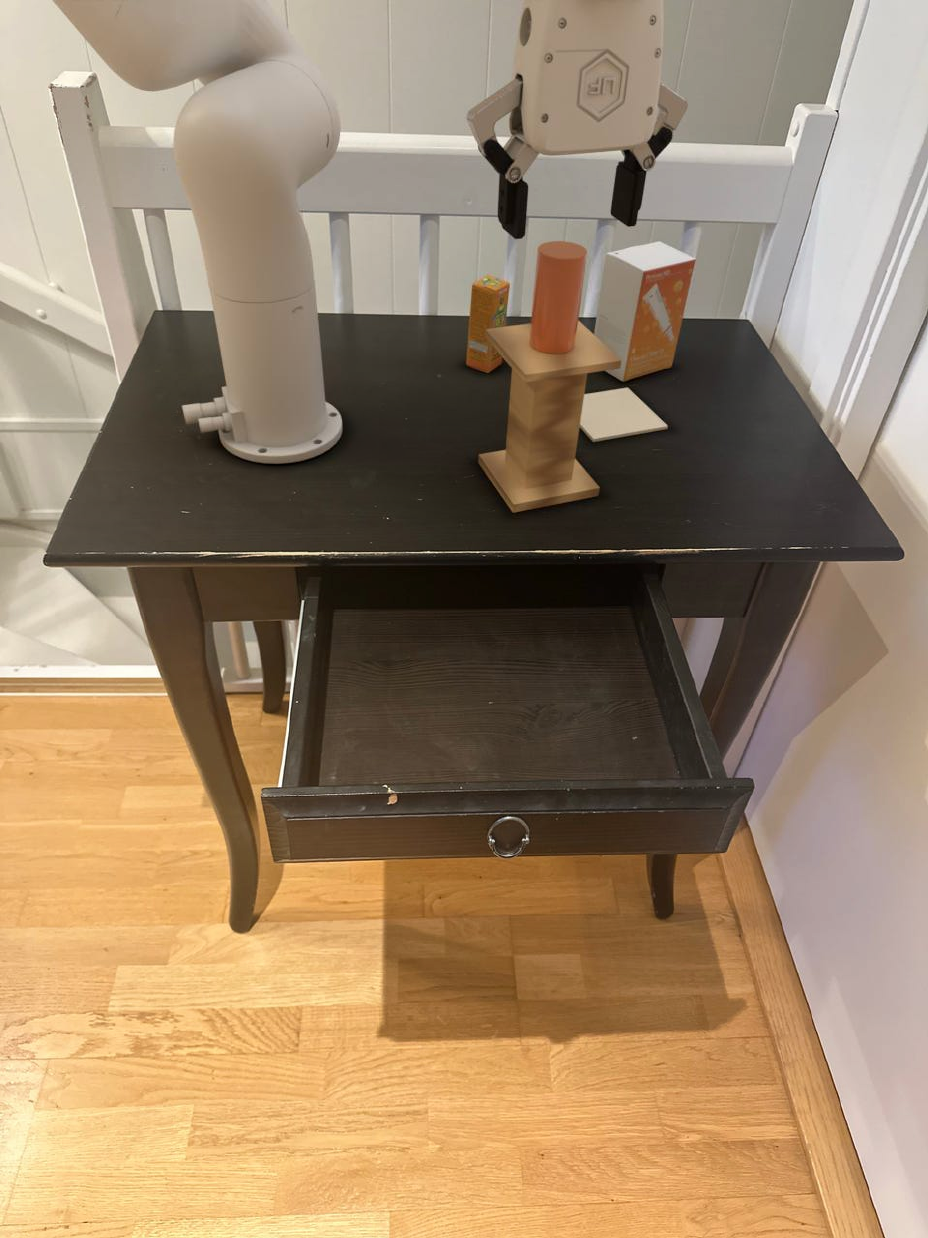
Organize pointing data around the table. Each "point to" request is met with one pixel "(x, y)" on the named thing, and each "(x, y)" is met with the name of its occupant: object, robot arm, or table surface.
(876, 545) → the table surface
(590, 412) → the cream coaster
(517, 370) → the birch stand
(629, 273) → the small box
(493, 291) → the supplement box
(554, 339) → the orange cylinder
